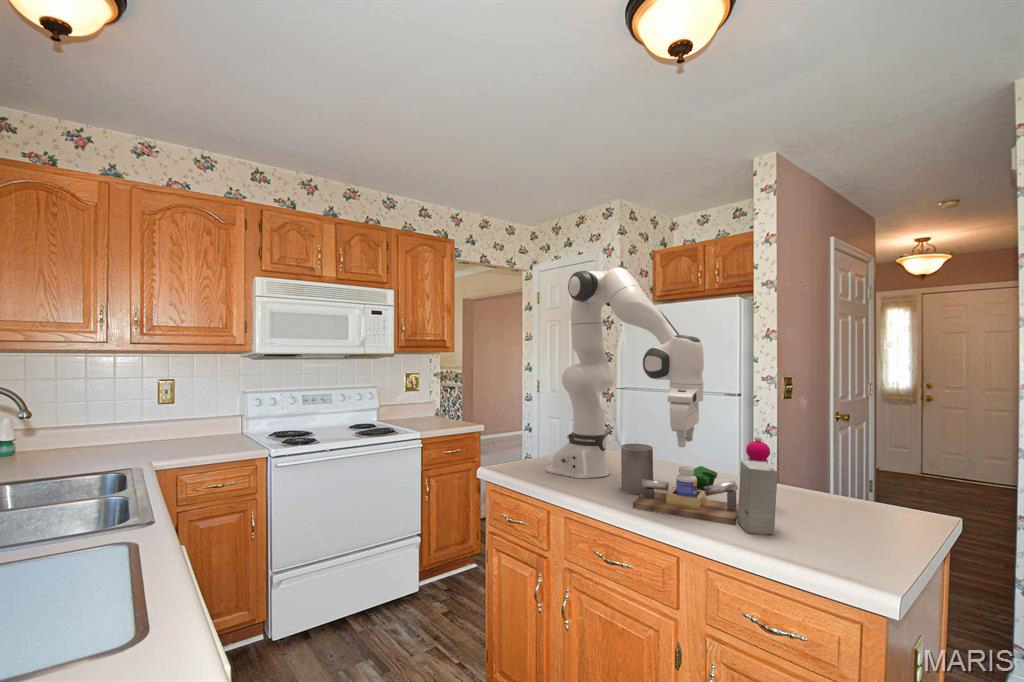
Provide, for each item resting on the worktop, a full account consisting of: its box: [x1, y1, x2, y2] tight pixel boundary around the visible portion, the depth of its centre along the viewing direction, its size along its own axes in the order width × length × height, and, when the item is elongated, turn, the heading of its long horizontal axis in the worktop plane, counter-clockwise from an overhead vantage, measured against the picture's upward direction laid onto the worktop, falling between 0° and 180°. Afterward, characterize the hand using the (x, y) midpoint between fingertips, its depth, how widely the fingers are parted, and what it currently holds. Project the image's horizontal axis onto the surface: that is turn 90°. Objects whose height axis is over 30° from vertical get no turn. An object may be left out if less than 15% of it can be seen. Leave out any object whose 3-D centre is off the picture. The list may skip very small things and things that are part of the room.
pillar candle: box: [620, 442, 654, 495], centre depth 155 cm, size 10×10×15 cm
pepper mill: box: [745, 435, 771, 464], centre depth 138 cm, size 7×7×20 cm
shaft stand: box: [631, 479, 739, 526], centre depth 137 cm, size 26×14×9 cm, turn 60°
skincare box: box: [737, 459, 779, 536], centre depth 122 cm, size 8×7×16 cm
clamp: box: [693, 465, 718, 491], centre depth 158 cm, size 12×6×9 cm, turn 133°
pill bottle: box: [675, 465, 698, 497], centre depth 137 cm, size 5×5×10 cm
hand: (685, 443), depth 138 cm, fingers open, 8 cm apart
